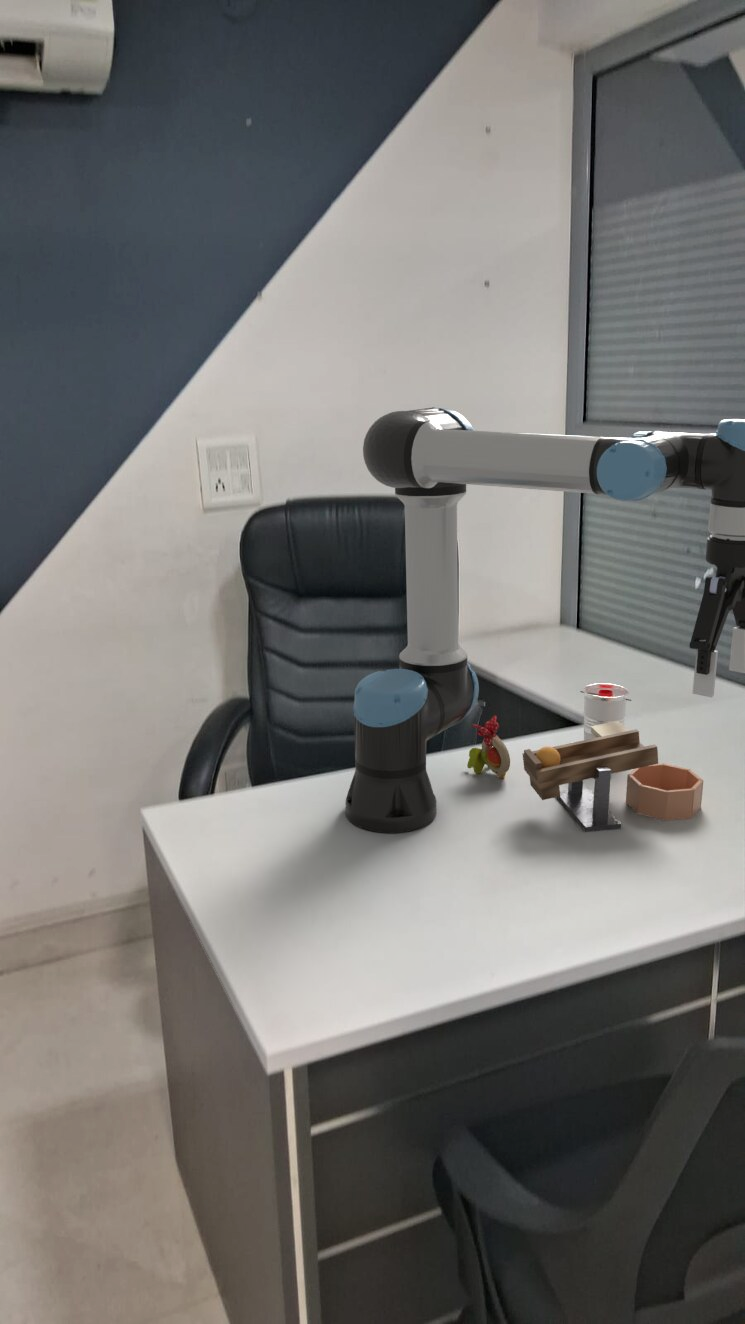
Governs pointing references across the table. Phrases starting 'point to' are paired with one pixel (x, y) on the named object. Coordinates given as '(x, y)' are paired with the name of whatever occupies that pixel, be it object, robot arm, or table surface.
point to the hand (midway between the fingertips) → (721, 683)
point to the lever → (590, 758)
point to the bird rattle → (490, 751)
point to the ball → (548, 757)
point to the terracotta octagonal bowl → (664, 791)
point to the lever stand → (591, 802)
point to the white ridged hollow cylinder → (603, 705)
